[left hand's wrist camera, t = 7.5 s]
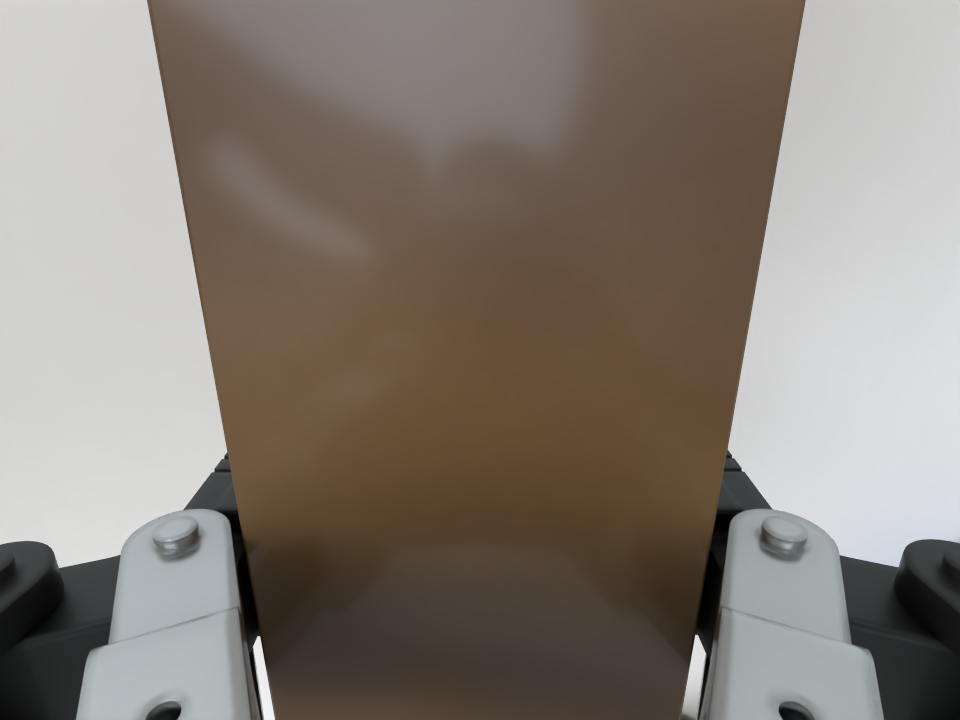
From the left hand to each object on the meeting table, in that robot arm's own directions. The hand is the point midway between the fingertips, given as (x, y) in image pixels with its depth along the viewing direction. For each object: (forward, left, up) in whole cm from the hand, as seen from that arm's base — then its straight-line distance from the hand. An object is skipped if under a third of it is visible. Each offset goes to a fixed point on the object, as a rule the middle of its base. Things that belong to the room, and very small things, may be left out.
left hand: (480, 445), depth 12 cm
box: (+11, 0, -5) cm, 12 cm away
